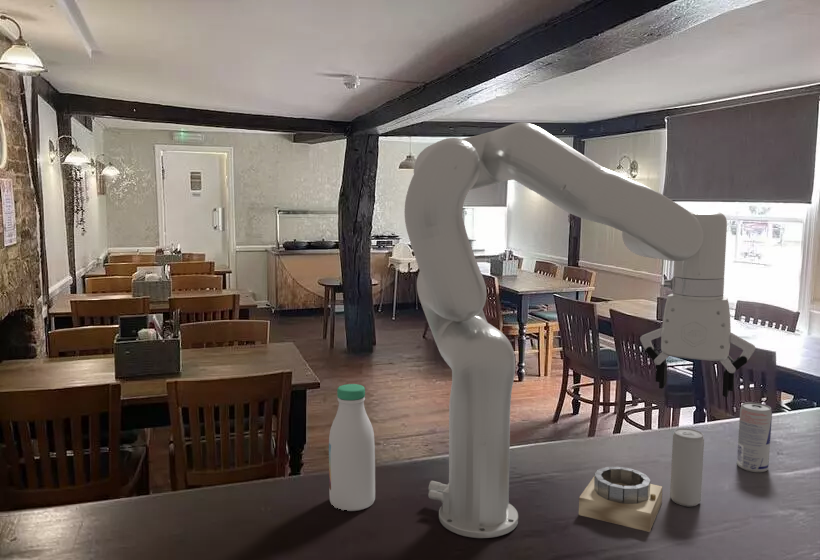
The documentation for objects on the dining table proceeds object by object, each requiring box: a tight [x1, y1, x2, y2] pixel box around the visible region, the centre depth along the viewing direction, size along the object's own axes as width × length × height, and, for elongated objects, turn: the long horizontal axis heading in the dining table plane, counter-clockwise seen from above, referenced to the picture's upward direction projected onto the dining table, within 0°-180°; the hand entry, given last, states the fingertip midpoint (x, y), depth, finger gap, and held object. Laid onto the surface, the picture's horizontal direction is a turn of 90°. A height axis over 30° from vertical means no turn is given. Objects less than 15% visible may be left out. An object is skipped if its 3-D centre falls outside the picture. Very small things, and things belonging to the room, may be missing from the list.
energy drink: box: [736, 401, 773, 473], centre depth 123 cm, size 5×5×12 cm
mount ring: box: [593, 466, 652, 504], centre depth 107 cm, size 8×8×2 cm
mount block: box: [578, 475, 663, 533], centre depth 107 cm, size 11×11×4 cm
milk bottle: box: [328, 383, 376, 512], centre depth 109 cm, size 8×8×20 cm
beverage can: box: [669, 427, 705, 507], centre depth 109 cm, size 5×5×12 cm
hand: (693, 390), depth 107 cm, fingers open, 9 cm apart
